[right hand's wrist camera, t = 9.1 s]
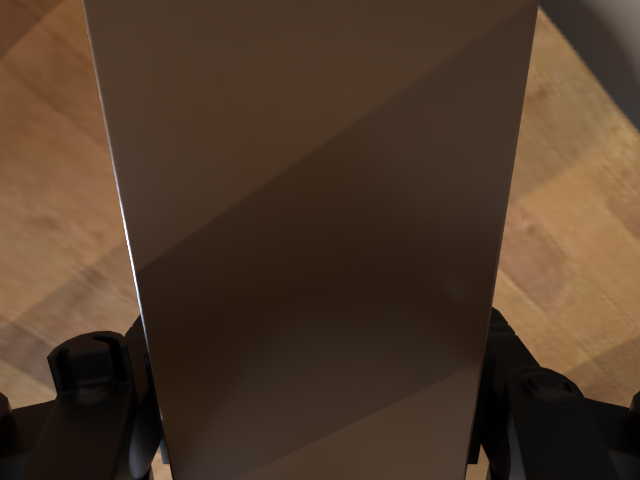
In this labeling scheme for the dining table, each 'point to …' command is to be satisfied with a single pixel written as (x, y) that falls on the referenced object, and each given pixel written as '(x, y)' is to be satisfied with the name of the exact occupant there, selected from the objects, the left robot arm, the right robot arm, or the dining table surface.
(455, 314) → the beam
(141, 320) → the right robot arm
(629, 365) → the dining table surface
